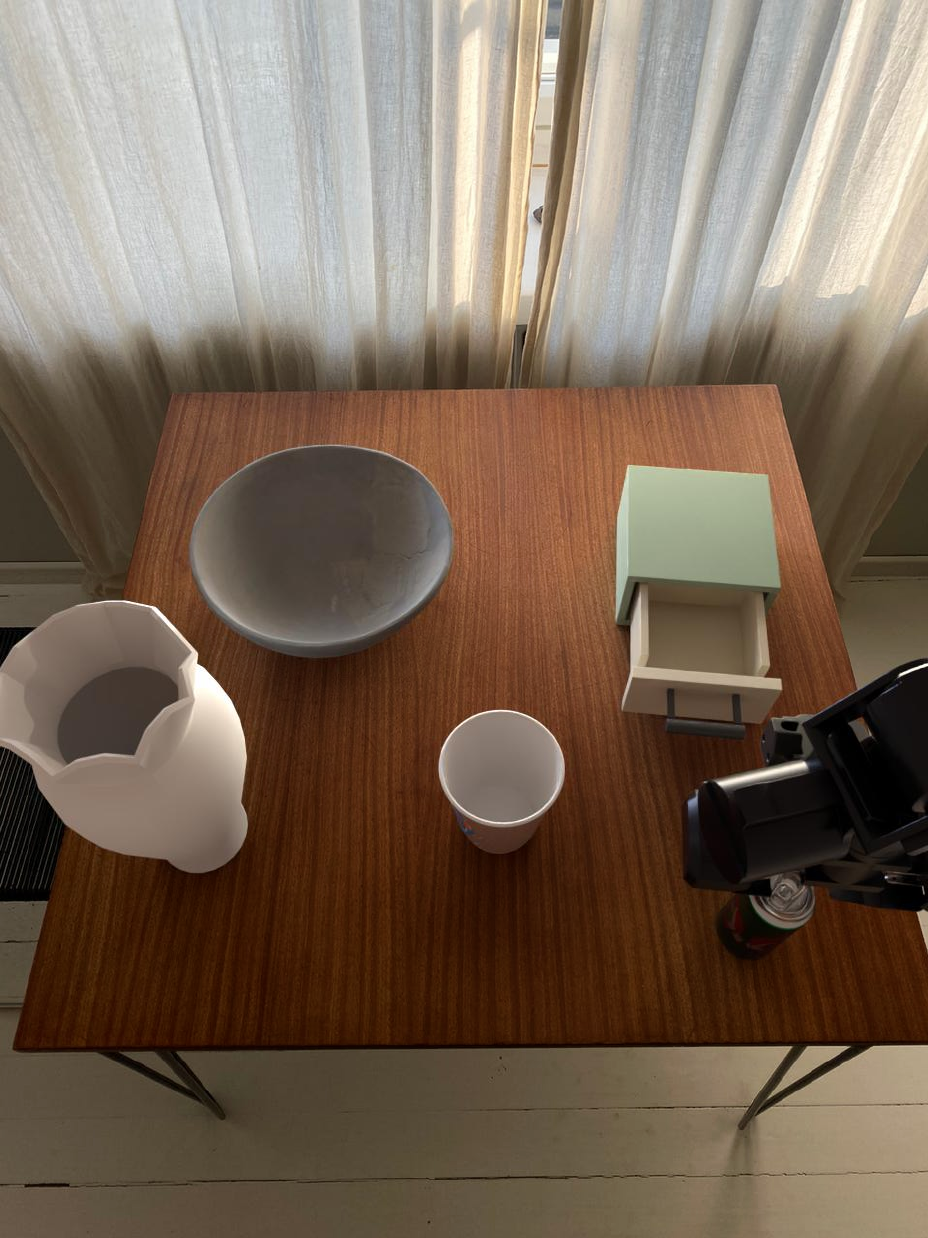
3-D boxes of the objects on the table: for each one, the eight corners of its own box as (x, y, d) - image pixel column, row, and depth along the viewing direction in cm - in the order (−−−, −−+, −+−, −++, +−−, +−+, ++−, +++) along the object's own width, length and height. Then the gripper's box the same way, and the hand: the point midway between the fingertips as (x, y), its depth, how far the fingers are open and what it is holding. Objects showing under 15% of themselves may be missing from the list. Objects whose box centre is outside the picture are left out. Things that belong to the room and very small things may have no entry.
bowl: (243, 493, 103) (222, 432, 95) (464, 506, 102) (463, 445, 94) (186, 687, 89) (157, 635, 81) (443, 705, 88) (440, 654, 79)
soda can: (785, 929, 75) (833, 889, 65) (753, 975, 73) (797, 940, 63) (735, 889, 77) (774, 844, 67) (702, 932, 75) (738, 893, 65)
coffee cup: (441, 769, 84) (437, 711, 74) (548, 764, 84) (558, 706, 74) (444, 875, 78) (440, 829, 68) (559, 870, 78) (571, 823, 68)
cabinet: (756, 636, 92) (781, 588, 84) (615, 624, 93) (627, 575, 85) (746, 527, 100) (768, 474, 92) (616, 517, 101) (628, 464, 93)
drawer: (765, 766, 83) (787, 735, 77) (621, 753, 84) (632, 721, 78) (751, 609, 93) (769, 570, 87) (622, 598, 93) (632, 559, 88)
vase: (301, 768, 84) (231, 597, 60) (259, 923, 76) (158, 799, 52) (155, 748, 85) (28, 573, 61) (99, 898, 78) (-73, 766, 53)
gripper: (1001, 703, 55) (901, 796, 68) (703, 678, 56) (660, 774, 70) (1047, 878, 49) (927, 944, 62) (712, 846, 50) (663, 916, 63)
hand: (789, 887), depth 65 cm, fingers open, 6 cm apart
